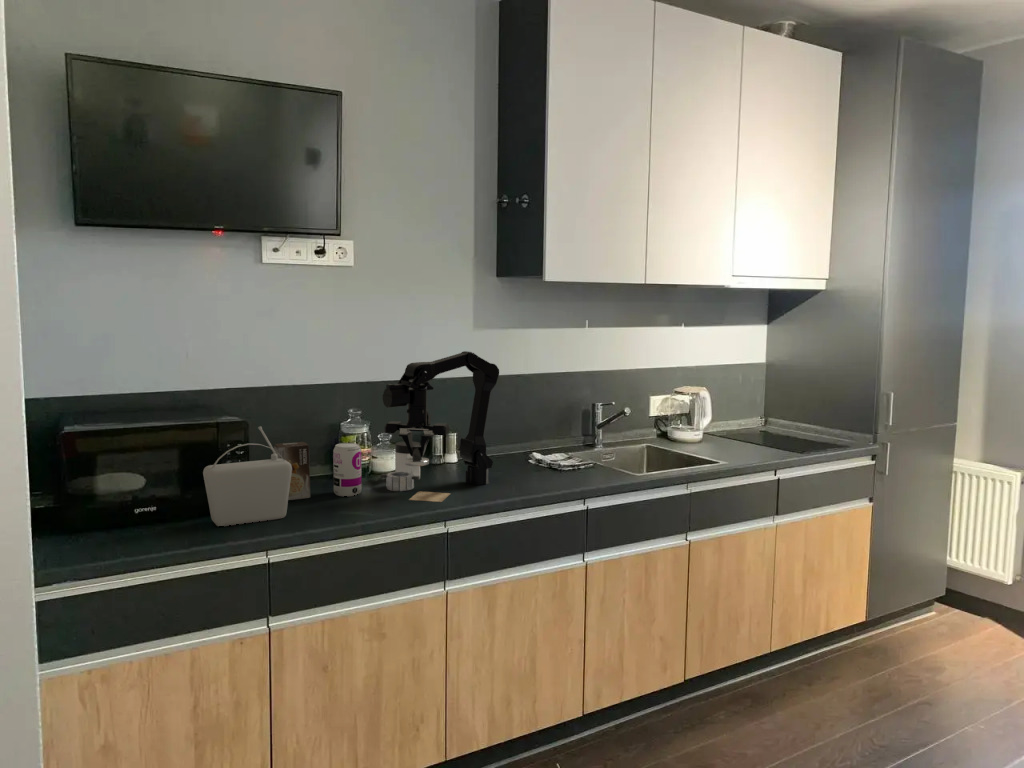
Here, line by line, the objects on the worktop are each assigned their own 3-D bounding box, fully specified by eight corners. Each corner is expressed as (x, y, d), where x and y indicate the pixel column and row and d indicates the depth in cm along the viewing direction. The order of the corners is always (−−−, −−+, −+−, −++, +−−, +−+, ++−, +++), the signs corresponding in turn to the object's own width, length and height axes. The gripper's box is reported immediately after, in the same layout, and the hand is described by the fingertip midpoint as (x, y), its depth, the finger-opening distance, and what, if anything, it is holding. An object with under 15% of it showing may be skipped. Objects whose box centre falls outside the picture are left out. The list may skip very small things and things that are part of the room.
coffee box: (305, 493, 240) (305, 441, 238) (310, 498, 234) (310, 445, 232) (274, 496, 235) (273, 443, 233) (279, 501, 230) (278, 447, 228)
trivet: (450, 495, 239) (450, 493, 239) (441, 504, 230) (441, 501, 229) (418, 493, 241) (418, 491, 241) (408, 502, 231) (408, 499, 231)
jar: (400, 483, 253) (400, 447, 252) (390, 478, 260) (390, 442, 259) (425, 480, 258) (425, 444, 257) (414, 475, 265) (414, 440, 264)
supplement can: (366, 491, 242) (366, 443, 241) (352, 498, 235) (352, 448, 233) (343, 489, 245) (342, 441, 243) (328, 495, 237) (328, 446, 236)
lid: (431, 461, 241) (431, 445, 241) (425, 466, 234) (425, 449, 234) (408, 460, 242) (408, 444, 242) (402, 465, 235) (402, 448, 234)
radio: (284, 510, 221) (283, 422, 218) (293, 517, 214) (292, 426, 211) (202, 521, 209) (199, 428, 206) (209, 529, 202) (206, 433, 199)
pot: (422, 488, 248) (422, 472, 248) (414, 494, 240) (414, 478, 239) (385, 485, 250) (385, 470, 250) (376, 492, 242) (376, 476, 242)
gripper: (453, 402, 243) (453, 452, 245) (395, 400, 245) (394, 449, 247) (445, 407, 232) (444, 460, 234) (384, 405, 234) (384, 457, 236)
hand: (417, 456), depth 238 cm, fingers closed on lid, 3 cm apart
